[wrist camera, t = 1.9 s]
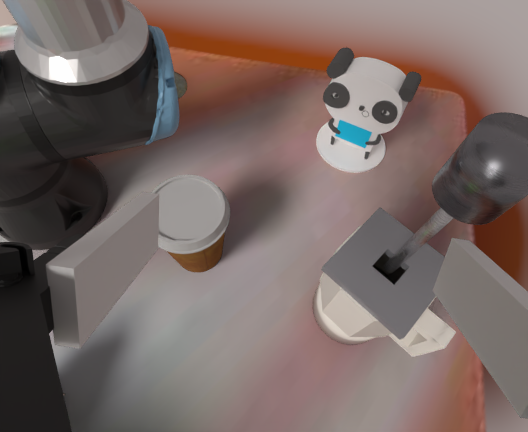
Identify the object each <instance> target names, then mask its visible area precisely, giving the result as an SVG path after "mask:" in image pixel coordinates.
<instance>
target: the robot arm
mask: <svg viewBox="0 0 528 432" xmlns="http://www.w3.org/2000/svg"><path fill="white" fill-rule="evenodd" d="M2 1H3V2H4V4H5V5H6V7H7V9H8V10H9V12H10V13H11V14H12V16H13V18H14V19H15V21H16V22H17V24H18V28H17V30H16V33H15V37H14V49H15V50H8V51H2V52H0V235H1V236H2V237H4V238H5V239H7V240H8V241H10V242H1V243H0V432H72V431H71V427H70V422H69V418H68V414H67V409H66V405H65V401H64V396H63V392H62V388H61V383H60V379H59V375H58V371H57V366H56V362H55V358H54V353H53V349H52V345H51V340H50V336H49V333H50V332H51V331H52V330H53V334H54V343H55V345H58V346H65V347H71V348H77V349H80V348H81V347H82V346H83V344H84V343H85V342H86V341H87V339H88V338H89V337H90V335H91V334H92V333H93V332H94V330H95V329H96V328H97V326H98V325H99V324H100V323H101V321H102V320H103V319H104V318H105V316H106V315H107V314H108V312H109V311H110V310H111V309H112V307H113V306H114V305H115V303H116V302H117V301H118V300H119V298H120V297H121V296H122V295H123V293H124V292H125V291H126V289H127V288H128V287H129V286H130V284H131V283H132V282H133V280H134V279H135V278H136V277H137V275H138V274H139V273H140V271H141V270H142V269H143V268H144V266H145V265H146V264H147V263H148V261H149V260H150V259H151V257H152V256H153V255H154V254H155V252H156V251H157V250H158V235H159V194H155V193H148V192H142V193H140V194H139V195H138V196H136V197H135V198H134V199H132V200H131V201H130V202H128V203H127V204H126V205H124V206H123V207H122V208H120V209H119V210H118V211H116V212H115V213H114V214H112V215H111V216H110V217H108V218H107V219H106V220H104V221H103V222H102V223H100V224H99V225H98V226H96V227H95V228H94V229H92V230H91V231H90V232H88V233H87V234H86V235H84V233H86V232H87V231H88V230H89V229H90V228H91V227H92V226H93V225H94V224H95V223H96V222H97V220H98V219H99V217H100V216H101V214H102V212H103V210H104V208H105V205H106V201H107V186H106V182H105V180H104V178H103V176H102V175H101V173H100V172H99V170H98V169H97V167H96V166H95V165H94V164H93V163H92V162H91V161H90V160H89V159H87V158H85V157H88V156H92V155H97V154H102V153H107V152H112V151H116V150H121V149H126V148H131V147H135V146H140V145H148V144H150V143H152V142H153V141H157V140H160V139H163V138H167V137H170V136H172V135H173V134H174V133H175V132H176V130H177V128H178V125H179V103H178V95H177V88H176V84H175V82H174V81H175V78H174V69H173V64H172V60H171V55H170V51H169V47H168V44H167V41H166V38H165V35H164V33H163V31H162V30H161V29H160V28H158V27H152V26H150V25H147V22H146V19H145V18H144V16H143V15H142V13H141V12H140V10H139V9H138V8H137V7H135V6H134V5H133V4H131V3H130V2H129V1H127V0H2ZM44 249H49V250H48V251H47V253H44V254H42V255H41V256H39V257H38V258H36V259H35V260H34V261H33V253H32V250H44ZM433 292H434V293H435V295H436V296H437V298H438V299H439V300H440V302H441V303H442V305H443V306H444V308H445V309H446V311H447V312H448V314H449V315H450V316H451V318H452V319H453V321H454V322H455V324H456V325H457V327H458V328H459V329H460V331H461V332H462V334H463V335H464V337H465V338H466V340H467V341H468V343H469V344H470V345H471V347H472V348H473V350H474V351H475V353H476V354H477V356H478V357H479V358H480V360H481V361H482V363H483V364H484V366H485V367H486V369H487V370H488V371H489V373H490V374H491V376H492V377H493V379H494V380H495V381H496V383H497V384H498V386H499V387H500V389H501V390H502V392H503V393H504V395H505V396H506V398H507V399H508V401H509V402H510V403H511V405H512V406H513V407H514V409H515V411H516V412H517V414H518V415H519V416H520V418H528V292H527V291H526V290H525V289H524V288H523V287H522V286H521V285H519V284H518V283H517V282H516V281H515V280H514V279H513V278H511V277H510V276H509V275H508V274H507V273H506V272H504V271H503V270H502V269H501V268H500V267H499V266H497V265H496V264H495V263H494V262H493V261H492V260H491V259H490V258H489V257H488V256H486V255H485V254H484V253H483V252H482V251H480V249H478V248H477V247H476V246H475V245H474V244H473V243H472V242H470V241H469V240H463V239H456V238H452V239H451V242H450V245H449V247H448V250H447V253H446V255H445V258H444V261H443V264H442V266H441V269H440V272H439V274H438V277H437V280H436V283H435V285H434V288H433Z"/></svg>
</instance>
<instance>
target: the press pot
mask: <svg viewBox="0 0 528 432" xmlns="http://www.w3.org/2000/svg"><path fill="white" fill-rule="evenodd" d="M413 235H414V233H413V232H412V231H410V230H409V229H408V228H406V227H405V226H404V225H402V224H401V223H400V222H399V221H397V220H396V219H395V218H393V217H392V216H391V215H389V214H388V213H387V212H386V211H384V210H383V209H382V208H379V209H378V210H377V211H376V212H375V213H374V214H373V215H372V216H371V217H370V218H369V219H368V220H367V221H366V222H365V223H364V224H363V225H362V226H359V227H358V228H357V229H356V230H355V231H354V232H353V233H352V234H351V235H350V236H349V237H348V239H347V240H346V241H345V242H344V243H343V244H342V245H341V246H340V247H339V248H338V249H337V250H336V251H335V253H334V255H333V256H332V257H331V258H330V259H329V260H328V262H327V263H326V264H325V265H324V266H323V267H322V269H321V270H322V271H323V274H322V276H321V278H320V284H319V286H318V288H317V289H316V291H315V294H314V297H313V313H314V317H315V319H316V322H317V323H318V325H319V327H320V328H321V330H322V331H323V332H324V333H325V334H326V335H327V336H328V337H330V338H331V339H333V340H335V341H337V342H339V343H342V344H346V345H358V344H362V343H365V342H367V341H369V340H371V339H373V338H375V337H385V336H387V335H389V336H390V337H391V338H392V339H393V340H394V341H395V342H397V343H398V344H399V345H400V346H401V347H402V348H403V349H404V350H405V351H407V352H408V353H409V354H410V355H411V356H412V357H414V356H418V355H422V354H426V353H429V352H433V351H437V350H440V349H444V348H445V347H446V346H447V344H448V343H449V341H450V340H451V339H452V337H453V336H454V334H455V333H456V331H454V330H453V329H452V328H451V327H450V326H448V325H447V324H446V323H445V322H444V321H442V320H441V319H440V318H439V317H438V316H436V315H435V314H434V313H433V312H432V311H430V310H429V309H428V307H429V306H430V304H431V303H432V302H433V300H434V299H435V298H436V295H435V293H434V292H433V288H434V285H435V283H436V280H437V277H438V274H439V272H440V269H441V266H442V264H443V261H444V258H445V257H444V256H443V255H442V254H440V253H439V252H438V251H436V250H435V249H434V248H432V247H431V246H430V245H428V244H427V243H425V244H424V245H423V246H422V247H421V248H420V249H419V250H418V251H417V252H415V253H414V254H413V255H412V256H411V257H410V258H409V259H408V260H407V261H405V262H404V263H403V264H402V265H401V266H400V267H399V268H398V269H397V270H395V271H394V272H393V273H391V274H389V273H386V272H385V271H384V268H383V267H384V265H385V264H386V263H387V262H388V261H389V259H390V258H391V257H392V256H393V255H394V254H395V253H396V252H397V251H398V250H399V249H400V248H401V247H402V246H403V245H404V244H405V243H406V242H407V241H408V240H409V239H410V238H411V237H412V236H413ZM412 327H413V328H414V329H415V330H416V331H417V332H418V333H417V332H416V331H415V330H414V329H413V328H412Z"/></svg>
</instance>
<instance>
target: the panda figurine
mask: <svg viewBox="0 0 528 432" xmlns="http://www.w3.org/2000/svg"><path fill="white" fill-rule="evenodd" d="M353 58H354V54H353V52H352V50H351V49H349V48H342V49H340V50H339V51H338V53H337V54H336V56H335V57H334V59H333V60H332V62H331V63H330V65H329V66H328V68H327V74H328V76H329V77H330V78H333V79H332V80H331V82H330V83H329V85H328V86H327V88H326V90H325V92H324V95H323V100H324V102H325V105H326V107H327V109H328V111H329V113H330V114H331V115H332V117H333V118H332V119H331V120H330V121H329V122H327V123H326V124H325V125H323V126H322V128H321V129H320V130H319V132H318V135H317V140H316V144H317V149H318V152H319V153H320V155H321V157H322V158H323V159H324V160H325V161H326V162H327V163H328V164H330V165H331V166H333V167H334V168H336V169H339V170H341V171H345V172H350V173H361V172H366V171H369V170H371V169H373V168H375V167H376V166H377V165H379V163H380V162H381V161H382V159H383V157H384V155H385V142H384V139H383V137H382V136H381V134H382V133H386V132H388V131H390V130H392V129H393V128H394V127H395V126H396V125H397V124H398V122H399V120H400V118H401V116H402V114H403V112H404V110H405V108H406V106H407V104H408V102H410V101H411V100H412V99H413V97H414V94H415V92H416V90H417V88H418V86H419V84H420V82H421V75H420V74H419V73H416V72H409V73H408V74H407V76H406V75H405V74H404V73H403V72H402V71H401V70H400V69H398V68H397V67H395V66H393V65H391V64H389V63H387V62H384V61H381V60H378V59H374V58H368V57H359V58H355V59H353Z"/></svg>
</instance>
